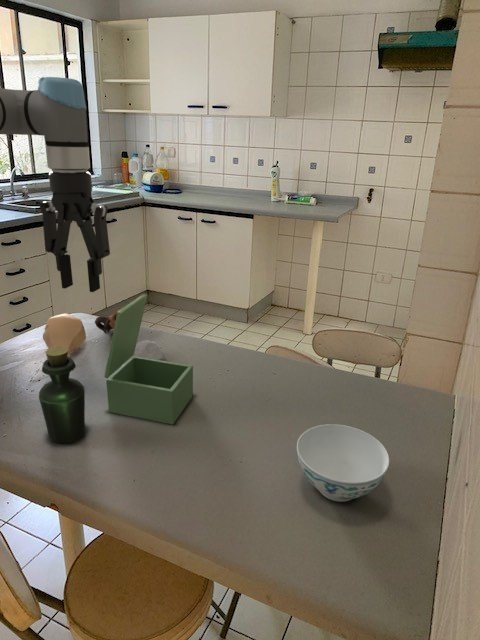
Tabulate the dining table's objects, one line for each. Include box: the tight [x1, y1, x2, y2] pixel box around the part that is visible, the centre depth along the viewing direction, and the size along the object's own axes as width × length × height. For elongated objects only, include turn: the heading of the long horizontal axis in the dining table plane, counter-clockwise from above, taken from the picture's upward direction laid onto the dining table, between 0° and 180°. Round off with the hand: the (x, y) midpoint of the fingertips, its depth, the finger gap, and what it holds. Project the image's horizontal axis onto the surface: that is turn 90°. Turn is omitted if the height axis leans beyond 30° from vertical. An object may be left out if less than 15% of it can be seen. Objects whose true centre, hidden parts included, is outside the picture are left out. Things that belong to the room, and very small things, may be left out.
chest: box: [105, 356, 194, 425], centre depth 100 cm, size 15×12×8 cm
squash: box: [42, 313, 87, 360], centre depth 121 cm, size 11×20×9 cm, turn 15°
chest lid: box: [104, 293, 148, 379], centre depth 97 cm, size 15×12×1 cm
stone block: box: [127, 339, 166, 361], centre depth 118 cm, size 12×5×10 cm
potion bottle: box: [38, 346, 86, 444], centre depth 87 cm, size 8×8×18 cm
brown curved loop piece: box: [94, 310, 119, 335], centre depth 133 cm, size 12×10×8 cm
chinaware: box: [296, 423, 390, 502], centre depth 78 cm, size 15×15×8 cm
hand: (81, 288), depth 95 cm, fingers open, 6 cm apart
